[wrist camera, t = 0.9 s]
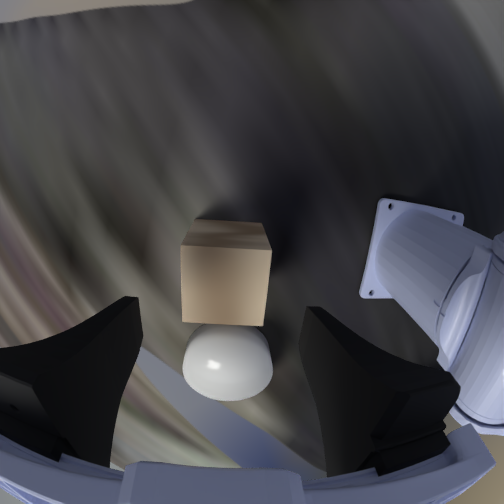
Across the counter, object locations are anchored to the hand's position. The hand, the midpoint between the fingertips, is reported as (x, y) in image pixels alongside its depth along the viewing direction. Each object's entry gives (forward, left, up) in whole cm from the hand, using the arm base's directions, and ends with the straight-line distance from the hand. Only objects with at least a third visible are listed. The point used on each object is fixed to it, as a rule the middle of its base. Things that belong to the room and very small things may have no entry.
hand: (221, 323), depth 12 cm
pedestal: (-1, +9, -9) cm, 12 cm away
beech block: (0, 0, -9) cm, 9 cm away
